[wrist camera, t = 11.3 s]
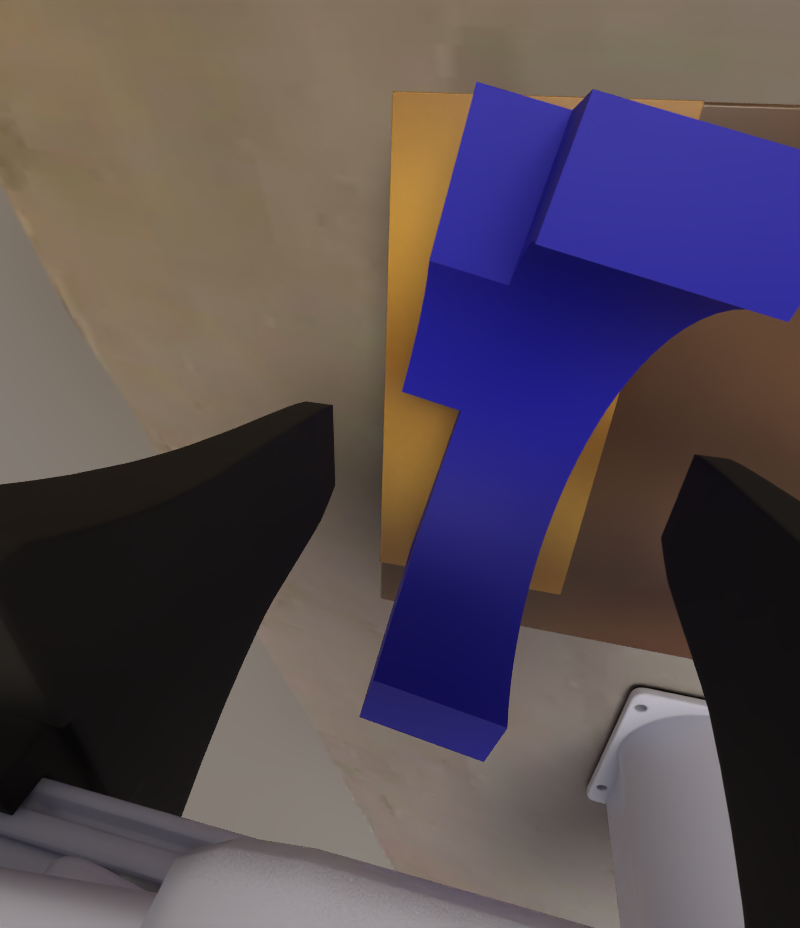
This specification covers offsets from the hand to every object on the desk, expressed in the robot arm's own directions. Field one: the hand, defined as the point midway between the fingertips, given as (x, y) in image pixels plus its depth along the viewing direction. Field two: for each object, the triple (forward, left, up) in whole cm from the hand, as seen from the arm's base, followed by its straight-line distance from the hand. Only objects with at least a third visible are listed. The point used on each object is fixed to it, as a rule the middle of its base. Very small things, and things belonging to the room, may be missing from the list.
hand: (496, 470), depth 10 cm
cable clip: (0, 0, -4) cm, 4 cm away
